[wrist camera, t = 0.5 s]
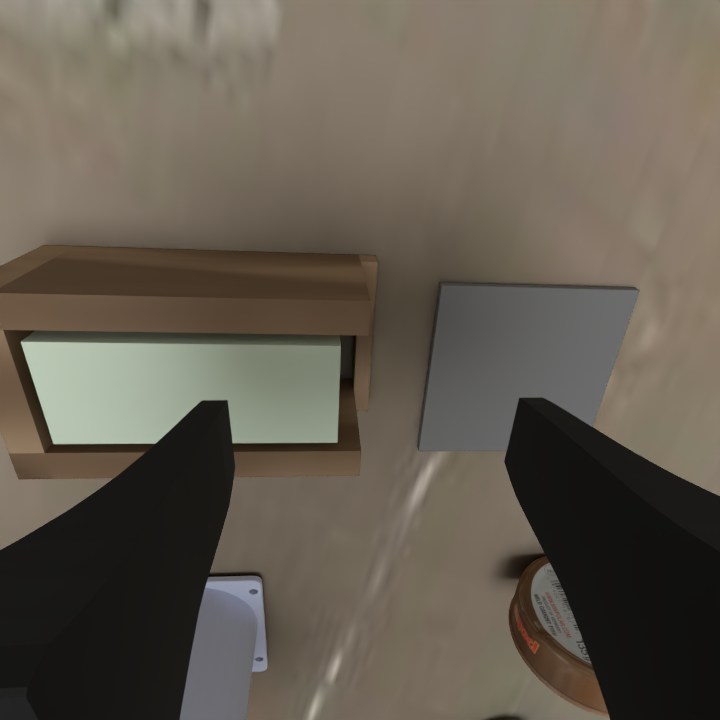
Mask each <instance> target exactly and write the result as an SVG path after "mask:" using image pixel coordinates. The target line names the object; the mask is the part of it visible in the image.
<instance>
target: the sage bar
mask: <svg viewBox="0 0 720 720" xmlns="http://www.w3.org/2000/svg"><path fill="white" fill-rule="evenodd" d="M21 345H22V348H23V351H24V354H25V357H26V360H27V363H28V366H29V369H30V373H31V376H32V379H33V382H34V385H35V388H36V391H37V394H38V397H39V401H40V404H41V407H42V410H43V413H44V416H45V419H46V422H47V425H48V429H49V432H50V435H51V438H52V441H53V444H156V443H157V442H158V441H159V440H160V439H161V438H162V437H163V436H164V435H166V434H167V433H168V432H169V431H170V430H171V429H172V428H173V427H174V426H175V425H176V424H177V423H178V422H179V421H180V420H181V419H182V418H183V417H185V416H186V415H187V414H188V413H189V412H190V411H191V410H192V409H193V408H194V407H195V406H196V405H197V404H198V403H200V402H201V401H202V400H228V407H229V416H230V425H231V433H232V442H233V443H337V442H338V414H339V386H340V358H341V341H340V335H297V334H232V333H168V332H104V331H40V330H35V331H34V332H33V333H31V334H30V335H29V336H28V337H26V338H25V339H24V340H22V341H21Z"/></svg>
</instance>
